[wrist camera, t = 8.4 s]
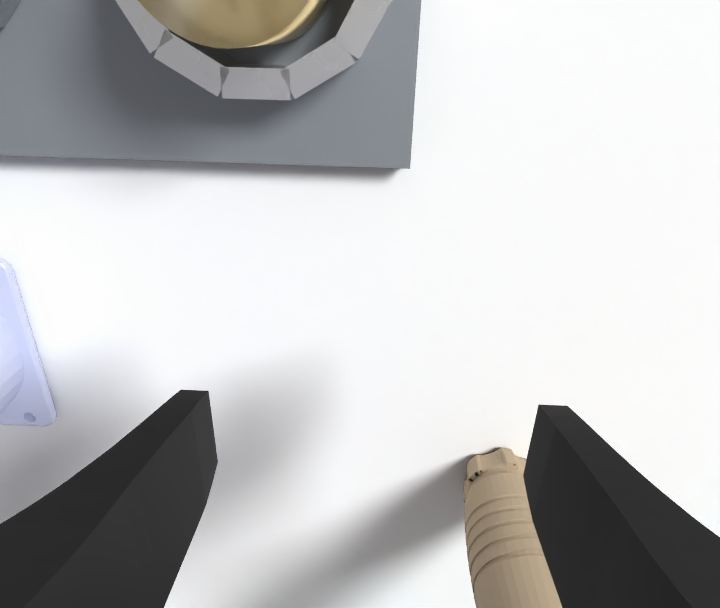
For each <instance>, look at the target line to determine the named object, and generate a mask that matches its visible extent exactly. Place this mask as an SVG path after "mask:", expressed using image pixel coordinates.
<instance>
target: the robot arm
mask: <svg viewBox="0 0 720 608" xmlns="http://www.w3.org/2000/svg"><path fill="white" fill-rule="evenodd" d="M30 413H32V414H33V415H34V416H33V415H32V414H30ZM55 418H56V411H55V407H54V404H53V401H52V397H51V394H50V391H49V387H48V384H47V381H46V377H45V374H44V371H43V368H42V364H41V361H40V358H39V354H38V351H37V348H36V344H35V341H34V338H33V334H32V331H31V328H30V324H29V321H28V318H27V314H26V311H25V308H24V304H23V301H22V298H21V294H20V291H19V288H18V284H17V281H16V278H15V274H14V271H13V268H12V266H11V264H10V263H9V262H8V261H7V260H5V259H3V258H1V257H0V424H10V425H33V426H48V425H50V424H51V423H52V422H53V421H54V420H55ZM217 463H218V460H217V453H216V445H215V438H214V430H213V422H212V415H211V407H210V400H209V392H208V391H196V390H180V391H179V392H178V393H176V394H175V395H174V396H173V397H172V398H170V399H169V400H168V401H167V402H166V403H164V404H163V405H162V406H161V407H160V408H158V409H157V410H156V411H155V412H154V413H153V414H151V415H150V416H149V417H148V418H147V419H146V420H144V421H143V422H142V423H141V424H140V425H138V426H137V427H136V428H135V429H133V430H132V431H131V432H130V433H129V434H127V435H126V436H125V437H124V438H123V439H121V440H120V441H119V442H118V443H116V444H115V445H114V446H113V447H111V448H110V449H109V450H108V451H106V452H105V453H104V454H102V455H101V456H100V457H98V458H97V459H96V460H94V461H93V462H92V463H90V464H89V465H88V466H86V467H85V468H84V469H82V470H81V471H80V472H78V473H77V474H76V475H74V476H73V477H72V478H70V479H69V480H68V481H66V482H65V483H63V484H62V485H60V486H59V487H58V488H56V489H55V490H53V491H52V492H50V493H49V494H47V495H46V496H44V497H43V498H41V499H40V500H38V501H37V502H35V503H33V504H32V505H30V506H29V507H27V508H26V509H24V510H22V511H21V512H19V513H18V514H16V515H15V516H13V517H11V518H10V519H8V520H6V521H5V522H3V523H1V524H0V608H164V606H165V603H166V601H167V598H168V596H169V594H170V591H171V589H172V586H173V584H174V581H175V579H176V577H177V574H178V572H179V569H180V567H181V565H182V562H183V560H184V557H185V555H186V553H187V550H188V548H189V545H190V543H191V541H192V538H193V536H194V533H195V531H196V528H197V526H198V523H199V521H200V519H201V516H202V514H203V511H204V509H205V506H206V503H207V499H208V496H209V492H210V489H211V485H212V482H213V478H214V474H215V470H216V466H217ZM523 478H524V483H525V488H526V493H527V498H528V503H529V507H530V512H531V516H532V520H533V523H534V527H535V530H536V533H537V536H538V538H539V541H540V544H541V547H542V550H543V553H544V556H545V559H546V562H547V565H548V568H549V570H550V573H551V576H552V579H553V582H554V585H555V588H556V591H557V593H558V596H559V599H560V602H561V605H562V608H720V537H719V536H717V535H716V534H714V533H713V532H712V531H710V530H709V529H708V528H706V527H705V526H704V525H702V524H701V523H700V522H698V521H697V520H696V519H694V518H693V517H692V516H691V515H689V514H688V513H687V512H686V511H684V510H683V509H682V508H681V507H680V506H678V505H677V504H676V503H675V502H673V501H672V500H671V499H670V498H669V497H667V496H666V495H665V494H664V493H662V492H661V491H660V490H659V489H658V488H657V487H655V486H654V485H653V484H652V483H651V482H650V481H648V480H647V479H646V478H645V477H644V476H643V475H642V474H640V473H639V472H638V471H637V470H636V469H635V468H634V467H633V466H631V465H630V464H629V463H628V462H627V461H626V460H625V459H624V458H623V457H622V456H621V455H619V454H618V453H617V452H616V451H615V450H614V449H613V448H612V447H611V446H610V445H609V444H608V443H607V442H605V441H604V440H603V439H602V438H601V437H600V436H599V435H598V434H597V433H596V432H595V431H594V430H593V429H592V428H591V427H590V426H589V425H588V424H586V423H585V422H584V421H583V420H582V419H581V418H580V417H579V416H578V415H577V414H576V413H575V412H574V411H572V410H571V409H570V408H569V407H568V406H556V405H539V406H538V411H537V415H536V419H535V424H534V428H533V433H532V437H531V442H530V446H529V451H528V455H527V460H526V464H525V469H524V473H523Z"/></svg>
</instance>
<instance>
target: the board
mask: <svg viewBox="0 0 720 608" xmlns="http://www.w3.org/2000/svg"><path fill="white" fill-rule="evenodd" d="M353 2H354V0H332V1H331V3H330V5H329V7H328V9H327V11H326V12H325V13H324V15H323V16H322V18H321V19H320V20H319V21H318V22H317V23H316V24H315V25H314V27H312V28H311V29H310V30H309V31H307V32H306V33H305V34H303V35H301V36H300V37H298V38H296V39H293V40H291V41H288V42H285V43H280V44H273V45H263V46H253V47H243V48H231V49H226V48H218V49H220V50H222V51H223V52H225V53H226V54H228V55H229V56H231V57H233V58H234V59H236V60H237V61H239V62H240V63H242V64H266V65H291V64H292V63H294V62H296V61H297V60H299V59H300V58H302V57H304V56H305V55H307V54H308V53H310V52H312V51H313V50H315V49H316V48H318V47H320V46H321V45H323V44H324V43H326V42H328V41H329V40H331V39H333V38H334V37H336V35H337V33H338V31H339V29H340V27H341V25H342V23H343V21H344V19H345V18H346V16H347V14H348V12H349V10H350V8H351V6H352V4H353ZM420 9H421V0H392V2H391V4H390V6H389V8H388V9H387V11H386V13H385V15H384V17H383V19H382V20H381V22H380V24H379V26H378V28H377V29H376V31H375V33H374V35H373V37H372V38H371V40H370V42H369V44H368V46H367V47H366V49H365V51H364V53H363V55H362V57H361V58H360V59H358V61H357V62H356V63H354V64H353V65H351V66H349V67H348V68H346V69H344V70H343V71H341V72H339V73H338V74H336V75H334V76H333V77H331V78H329V79H328V80H326V81H324V82H323V83H321V84H319V85H318V86H316V87H315V88H313V89H311V90H310V91H308V92H306V93H305V94H303V95H301V96H300V97H298V98H296V99H295V98H293V99H292V100H261V99H227V98H222V96H219V97H217V96H215V95H214V94H212V93H211V92H209V91H207V90H206V89H204V88H203V87H201V86H199V85H198V84H196V83H194V82H193V81H191V80H190V79H188V78H186V77H185V76H183V75H181V74H180V73H178V72H177V71H175V70H173V69H172V68H170V67H168V66H167V65H165V64H164V63H162V62H160V61H159V60H157V59H155V58H154V56H155V53H151V54H150V53H149V51H148V50H147V48H146V47H145V45H144V44H143V42H142V41H141V39H140V38H139V36H138V35H137V33H136V31H135V30H134V28H133V27H132V25H131V24H130V22H129V21H128V19H127V18H126V16H125V15H124V13H123V11H122V10H121V8H120V7H119V5H118V4H117V2H116V1H115V0H22V1H21V3H20V4H19V6H18V8H17V9H16V11H15V12H14V14H13V16H12V17H11V19H10V20H9V22H8V23H7V25H6V27H5V28H0V155H3V156H34V157H65V158H96V159H127V160H159V161H190V162H221V163H252V164H283V165H314V166H345V167H376V168H407V169H410V159H411V144H412V129H413V114H414V99H415V84H416V69H417V54H418V39H419V24H420Z"/></svg>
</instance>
